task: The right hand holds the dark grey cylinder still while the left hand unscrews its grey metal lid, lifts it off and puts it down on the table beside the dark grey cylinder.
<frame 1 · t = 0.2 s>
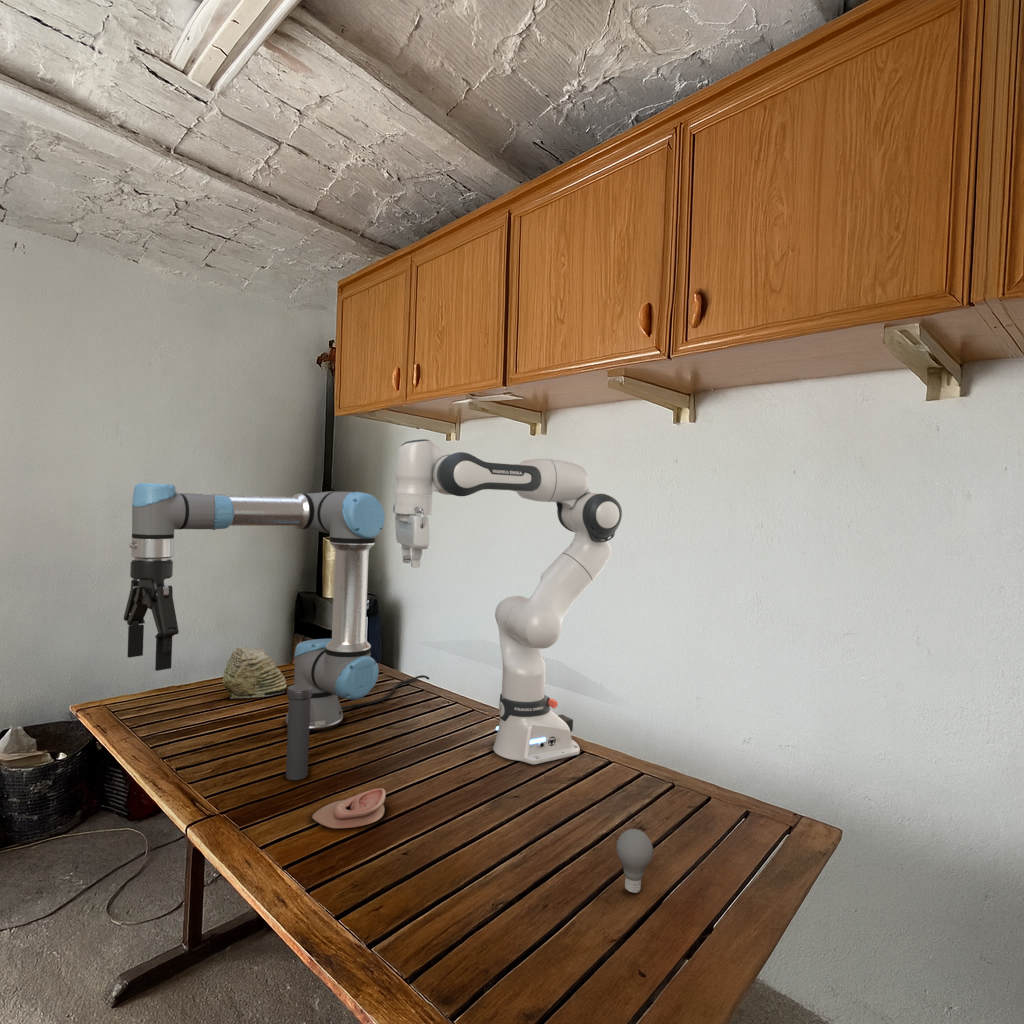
left hand: (148, 662, 129), 28 cm above the table, tool pointing down, fingers open, 13 cm apart
right hand: (410, 565, 151), 48 cm above the table, tool pointing down, fingers open, 8 cm apart
lid: (300, 688, 143), point 20 cm above the table, screwed on, not yet turned
dark grey cylinder: (296, 775, 143), on the table
fossil: (254, 694, 198), on the table
anatomical model: (349, 815, 126), on the table
light bulb: (632, 891, 106), on the table
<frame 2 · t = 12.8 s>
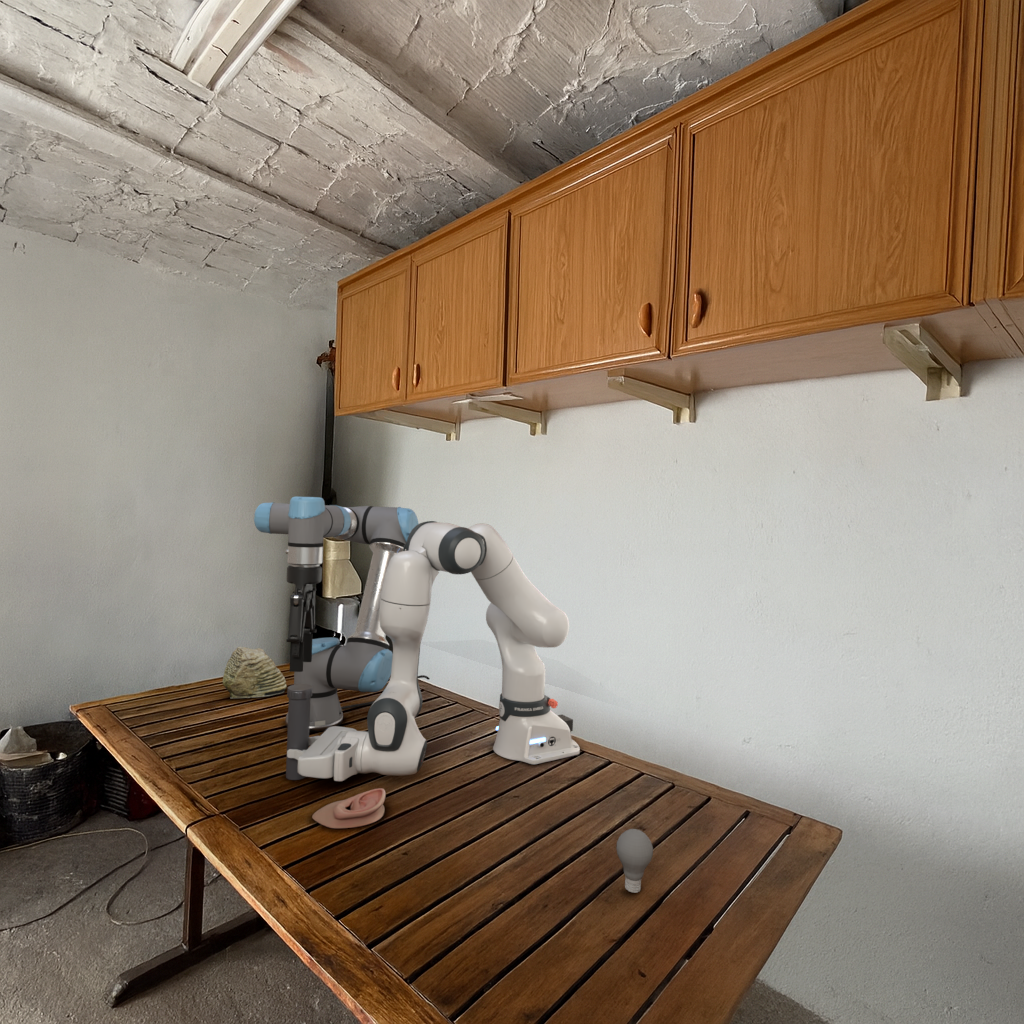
left hand: (300, 666, 143), 25 cm above the table, tool pointing down, fingers open, 7 cm apart
right hand: (293, 747, 143), 6 cm above the table, tool horizontal, fingers closed on dark grey cylinder, 5 cm apart
dark grey cylinder: (296, 775, 143), on the table, touching right hand
everything else where it was.
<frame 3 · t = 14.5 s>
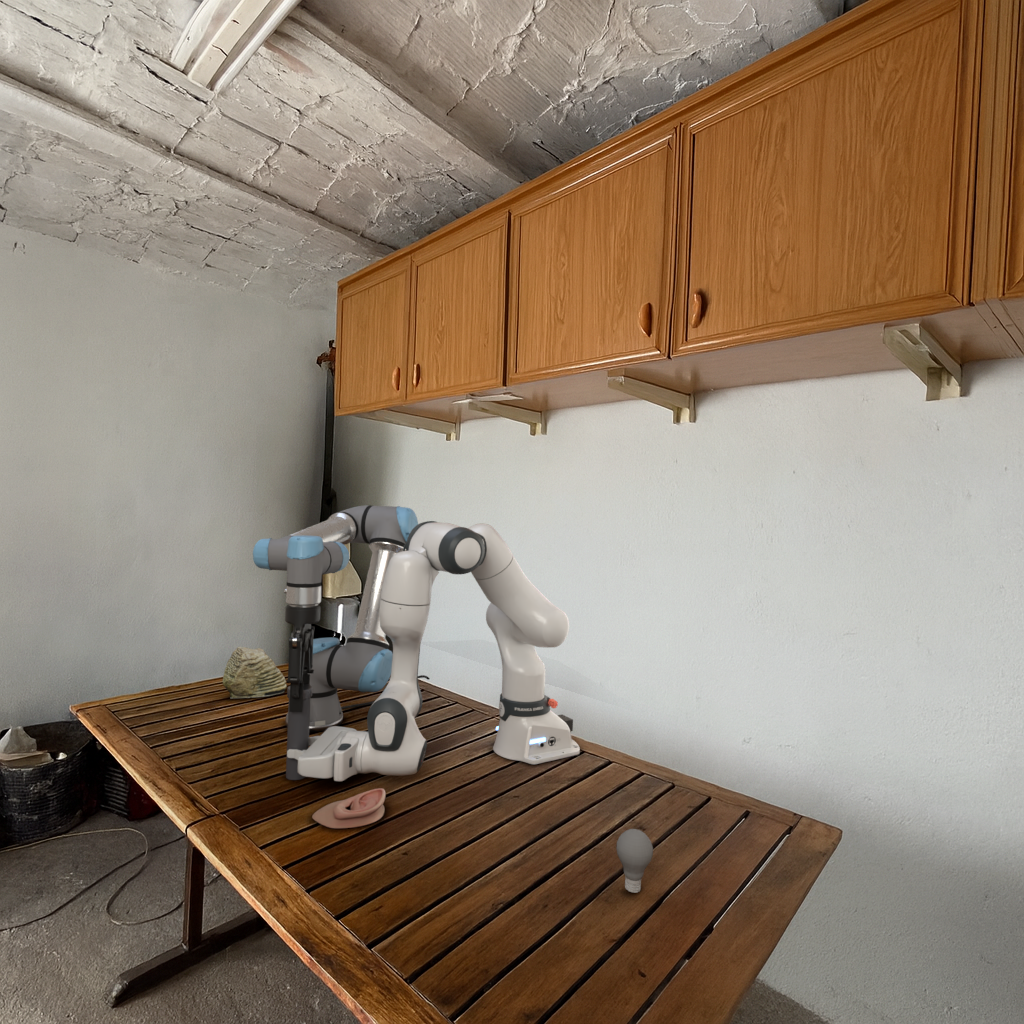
left hand: (299, 706, 143), 16 cm above the table, tool pointing down, fingers closed on lid, 5 cm apart
right hand: (293, 747, 143), 6 cm above the table, tool horizontal, fingers closed on dark grey cylinder, 5 cm apart
lid: (300, 688, 143), point 20 cm above the table, screwed on, not yet turned, touching left hand
dark grey cylinder: (296, 775, 143), on the table, touching right hand
everything else where it was.
when the left hand's fingers open (16 cm above the table, at t = 15.6 s): lid stays where it is, point 20 cm above the table.
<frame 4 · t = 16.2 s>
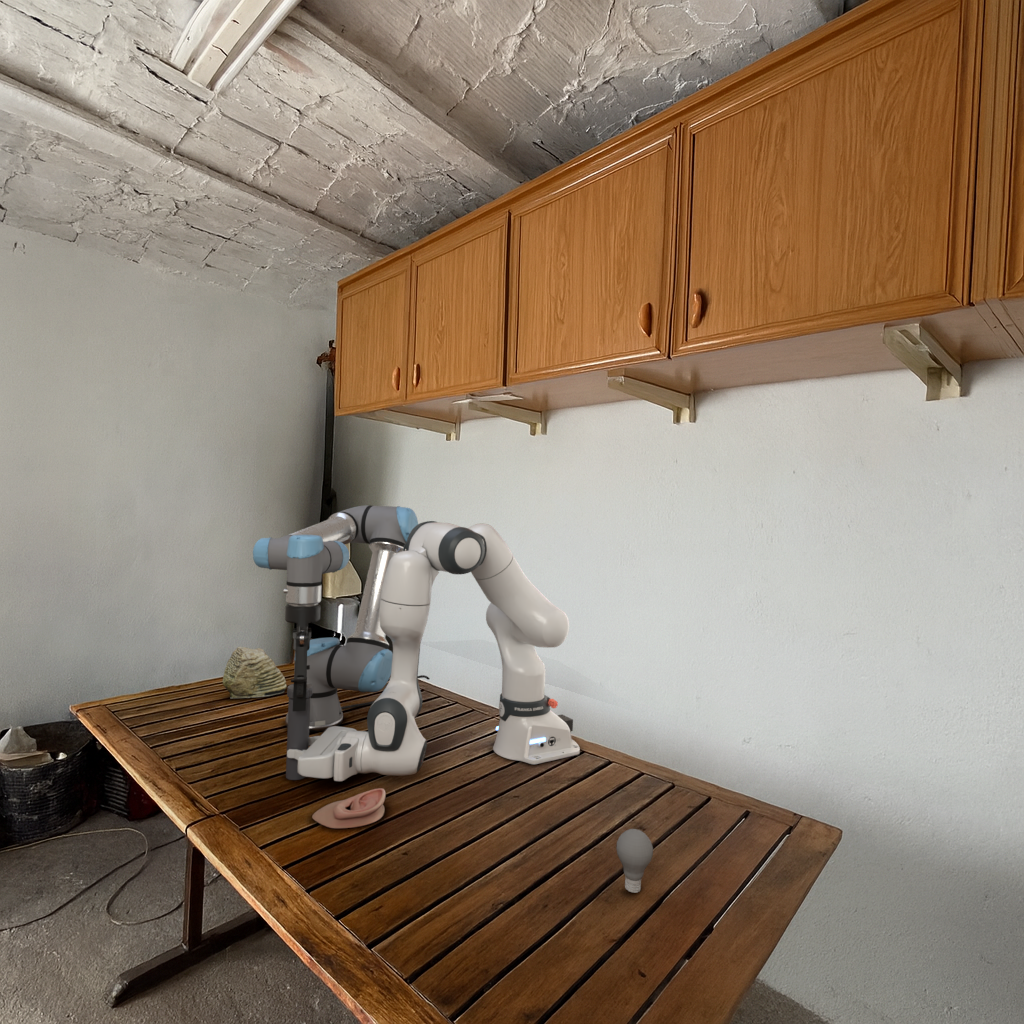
left hand: (299, 704, 143), 16 cm above the table, tool pointing down, fingers open, 7 cm apart
right hand: (293, 747, 143), 6 cm above the table, tool horizontal, fingers closed on dark grey cylinder, 5 cm apart
lid: (300, 687, 143), point 20 cm above the table, turned 63° so far, risen 0.2 cm, still on its thread
dark grey cylinder: (296, 775, 143), on the table, touching right hand
everything else where it was.
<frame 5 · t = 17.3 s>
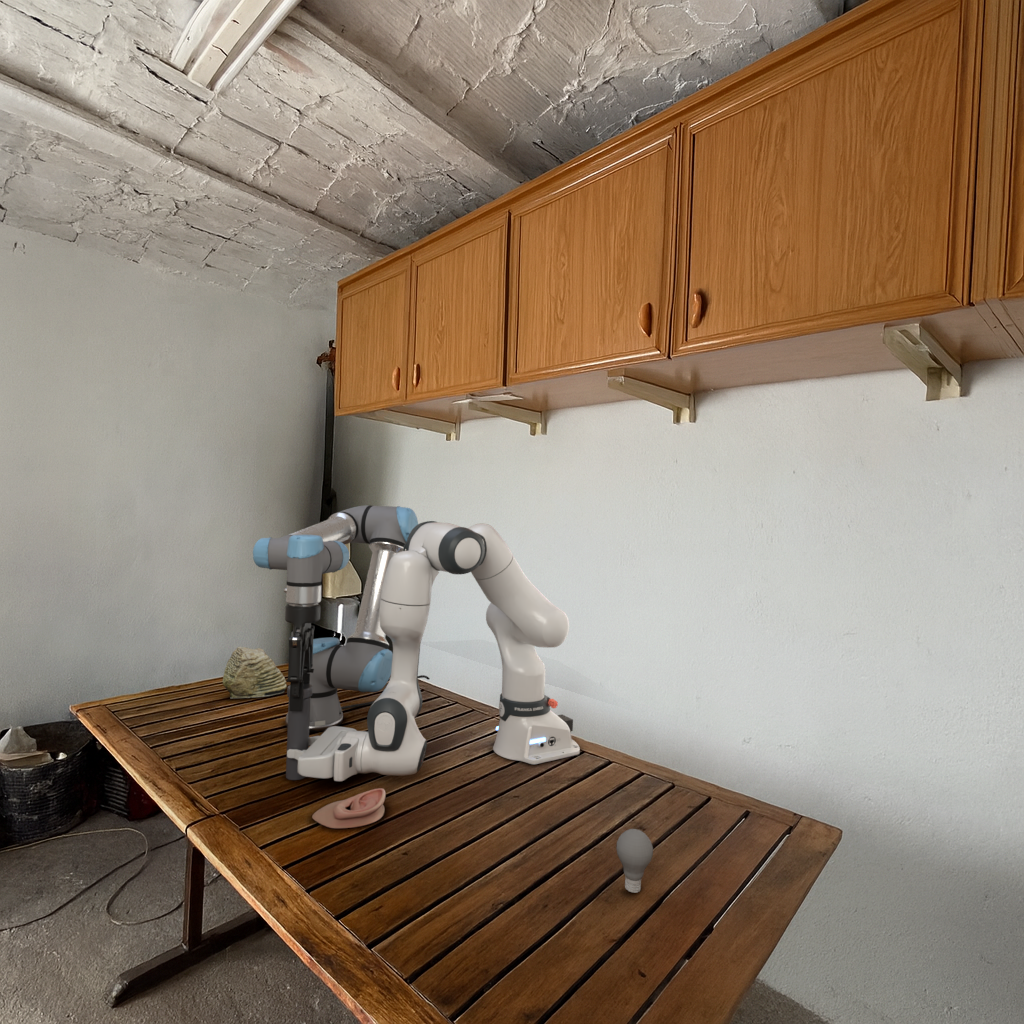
left hand: (299, 705, 143), 16 cm above the table, tool pointing down, fingers closed on lid, 5 cm apart
right hand: (293, 747, 143), 6 cm above the table, tool horizontal, fingers closed on dark grey cylinder, 5 cm apart
lid: (300, 687, 143), point 20 cm above the table, turned 63° so far, risen 0.2 cm, still on its thread, touching left hand
dark grey cylinder: (296, 775, 143), on the table, touching right hand
everything else where it was.
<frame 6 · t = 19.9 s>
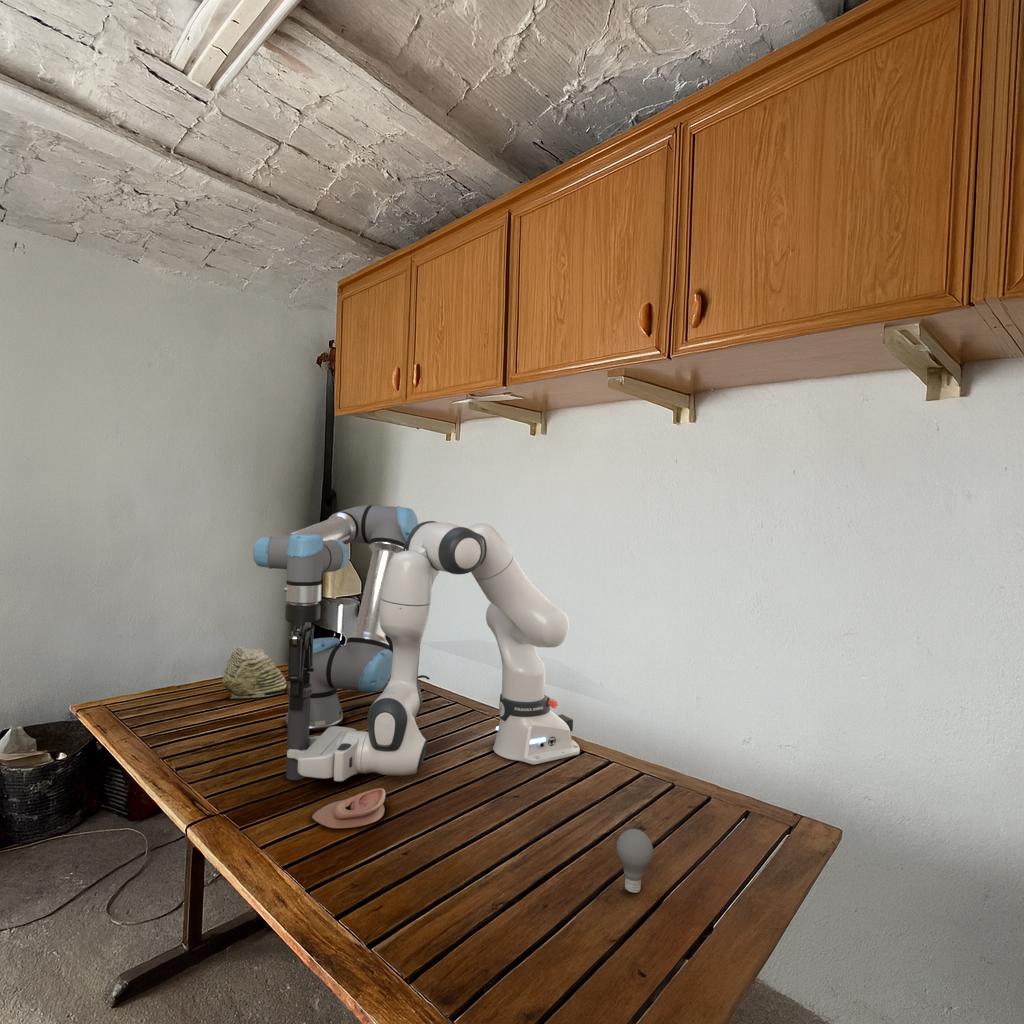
left hand: (299, 705, 143), 16 cm above the table, tool pointing down, fingers closed on lid, 5 cm apart
right hand: (293, 747, 143), 6 cm above the table, tool horizontal, fingers closed on dark grey cylinder, 5 cm apart
lid: (300, 687, 143), point 20 cm above the table, turned 126° so far, risen 0.4 cm, still on its thread, touching left hand
dark grey cylinder: (296, 775, 143), on the table, touching right hand
everything else where it was.
when the left hand's fingers open (0 cm above the table, at t = 26.2 s): lid drops 2 cm, point 2 cm above the table.
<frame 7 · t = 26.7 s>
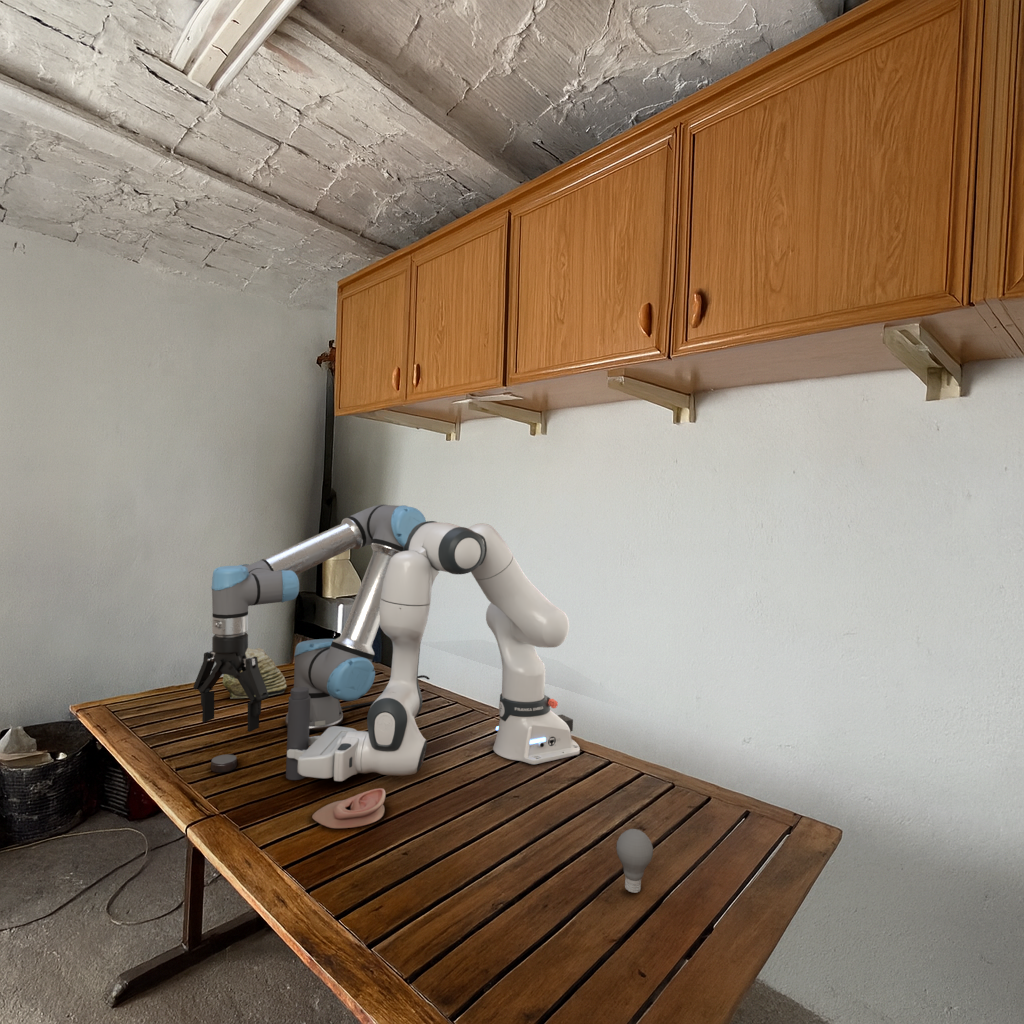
left hand: (230, 724, 146), 10 cm above the table, tool pointing down, fingers open, 13 cm apart
right hand: (293, 747, 143), 6 cm above the table, tool horizontal, fingers closed on dark grey cylinder, 5 cm apart
lid: (224, 760, 146), point 2 cm above the table, off its thread
dark grey cylinder: (296, 775, 143), on the table, touching right hand
everything else where it was.
when the right hand's fingers open (6 cm above the table, at t = 26.8 s): dark grey cylinder stays where it is, on the table.
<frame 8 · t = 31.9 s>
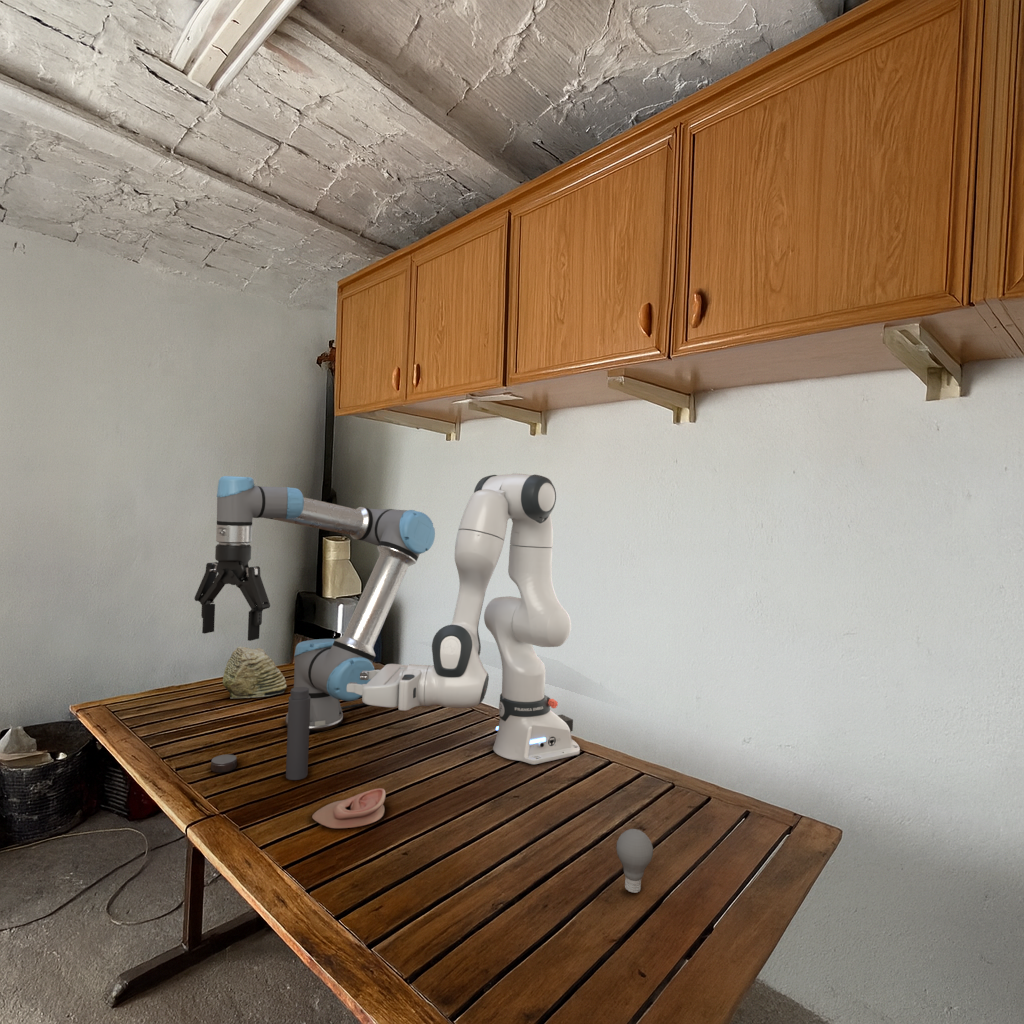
left hand: (230, 636, 145), 30 cm above the table, tool pointing down, fingers open, 13 cm apart
right hand: (354, 680, 142), 22 cm above the table, tool horizontal, fingers open, 8 cm apart
dark grey cylinder: (296, 775, 143), on the table
everything else where it was.
at the end: lid came off its thread; lid point 1.7 cm above the table; the left hand is holding nothing; the right hand is holding nothing; dark grey cylinder tilted 0°; dark grey cylinder moved 0.0 cm from its start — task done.
